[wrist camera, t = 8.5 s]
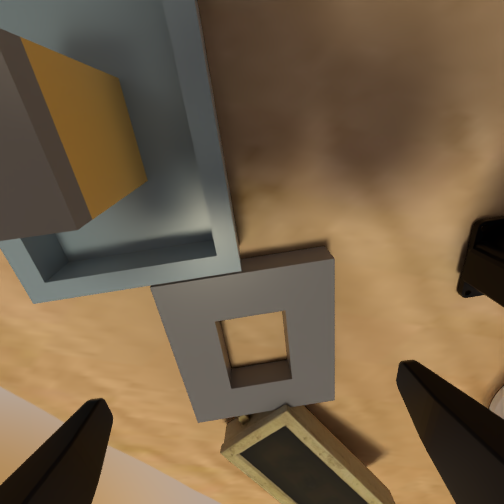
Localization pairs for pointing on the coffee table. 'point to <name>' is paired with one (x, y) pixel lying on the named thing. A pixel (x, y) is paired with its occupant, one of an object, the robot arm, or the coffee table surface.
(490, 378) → the coffee table surface
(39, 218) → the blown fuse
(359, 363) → the coffee table surface
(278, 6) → the coffee table surface
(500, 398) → the decorative vase
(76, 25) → the parts tray
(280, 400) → the socket block
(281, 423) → the box
